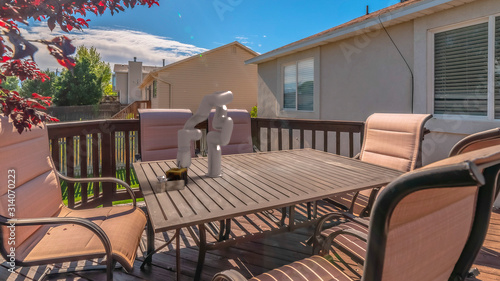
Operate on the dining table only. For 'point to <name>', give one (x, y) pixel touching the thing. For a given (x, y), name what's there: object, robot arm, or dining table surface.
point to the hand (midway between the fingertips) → (184, 177)
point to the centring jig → (170, 186)
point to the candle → (177, 175)
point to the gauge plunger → (162, 178)
